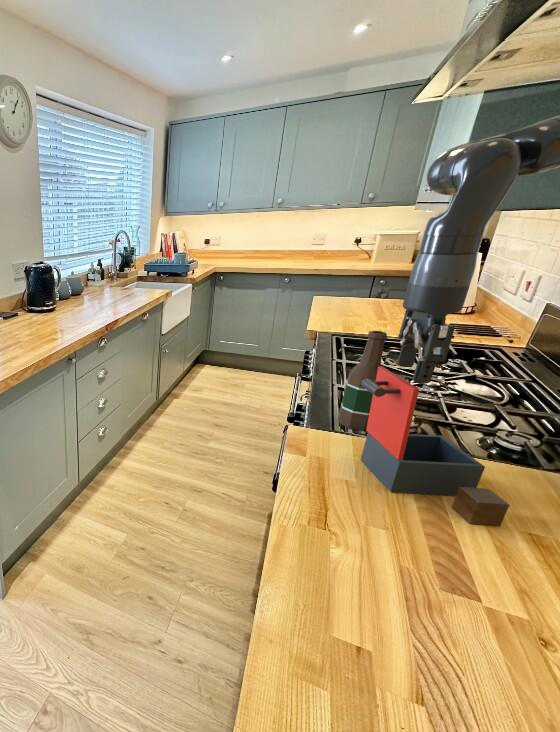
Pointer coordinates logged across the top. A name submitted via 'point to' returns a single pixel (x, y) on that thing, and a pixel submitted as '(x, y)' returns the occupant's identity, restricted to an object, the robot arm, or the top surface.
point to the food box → (423, 466)
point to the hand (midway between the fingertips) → (412, 373)
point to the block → (480, 506)
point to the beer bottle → (355, 394)
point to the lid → (391, 410)
